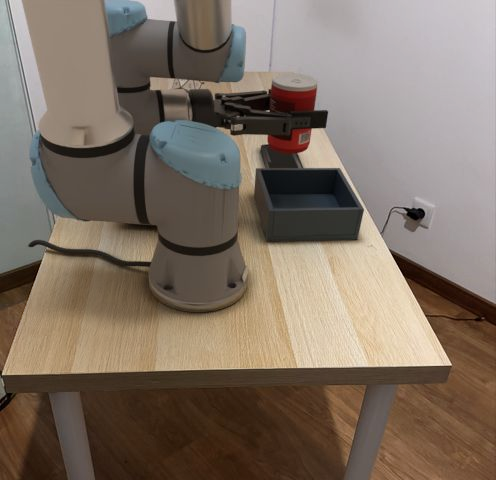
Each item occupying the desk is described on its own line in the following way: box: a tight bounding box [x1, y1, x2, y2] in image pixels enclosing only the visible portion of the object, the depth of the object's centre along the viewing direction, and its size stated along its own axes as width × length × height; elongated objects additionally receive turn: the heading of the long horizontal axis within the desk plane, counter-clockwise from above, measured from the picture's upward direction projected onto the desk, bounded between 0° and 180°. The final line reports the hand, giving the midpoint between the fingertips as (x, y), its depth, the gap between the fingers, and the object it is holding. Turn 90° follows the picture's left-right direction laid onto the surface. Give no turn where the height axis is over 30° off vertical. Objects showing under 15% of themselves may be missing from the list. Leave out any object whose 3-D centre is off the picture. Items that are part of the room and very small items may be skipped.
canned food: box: [266, 72, 318, 154], centre depth 93 cm, size 8×8×11 cm
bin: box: [253, 167, 365, 243], centre depth 99 cm, size 17×17×6 cm
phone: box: [260, 143, 304, 168], centre depth 118 cm, size 8×1×15 cm
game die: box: [168, 79, 206, 93], centre depth 142 cm, size 9×8×10 cm
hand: (317, 110), depth 93 cm, fingers closed on canned food, 8 cm apart
